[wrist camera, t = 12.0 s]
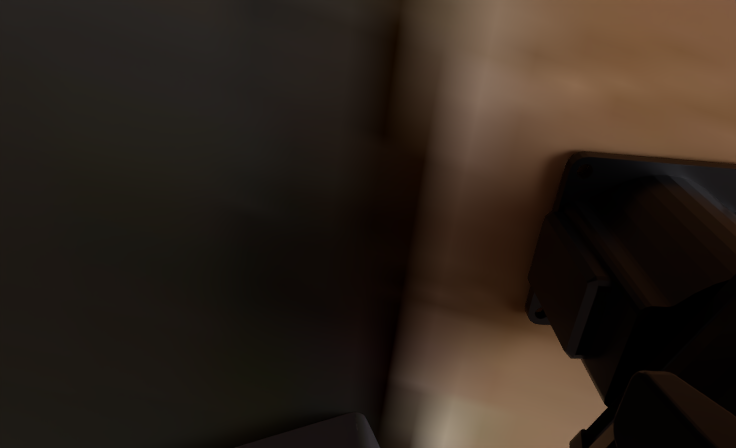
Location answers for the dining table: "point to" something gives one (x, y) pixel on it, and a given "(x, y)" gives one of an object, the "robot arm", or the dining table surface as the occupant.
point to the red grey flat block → (324, 435)
